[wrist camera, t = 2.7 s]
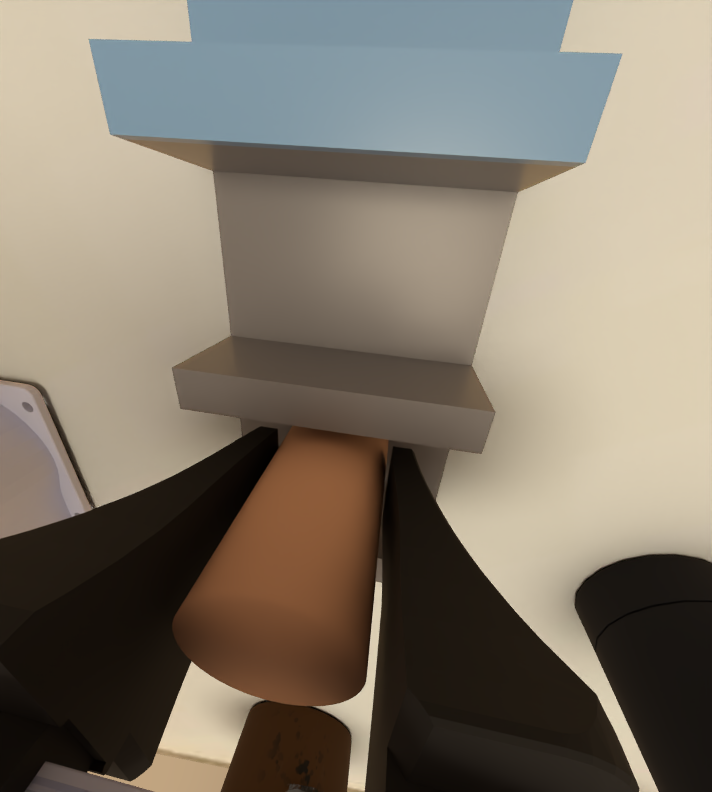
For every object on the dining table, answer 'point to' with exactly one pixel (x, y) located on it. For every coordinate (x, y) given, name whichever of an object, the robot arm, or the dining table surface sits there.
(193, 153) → the grey slotted rack
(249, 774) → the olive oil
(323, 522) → the tan rounded cylinder
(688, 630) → the wine bottle
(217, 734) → the dining table surface
